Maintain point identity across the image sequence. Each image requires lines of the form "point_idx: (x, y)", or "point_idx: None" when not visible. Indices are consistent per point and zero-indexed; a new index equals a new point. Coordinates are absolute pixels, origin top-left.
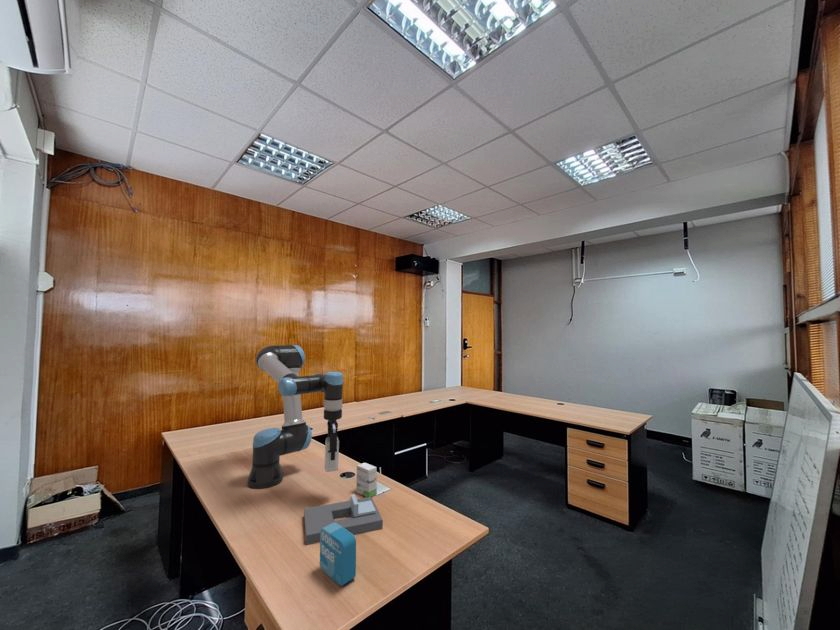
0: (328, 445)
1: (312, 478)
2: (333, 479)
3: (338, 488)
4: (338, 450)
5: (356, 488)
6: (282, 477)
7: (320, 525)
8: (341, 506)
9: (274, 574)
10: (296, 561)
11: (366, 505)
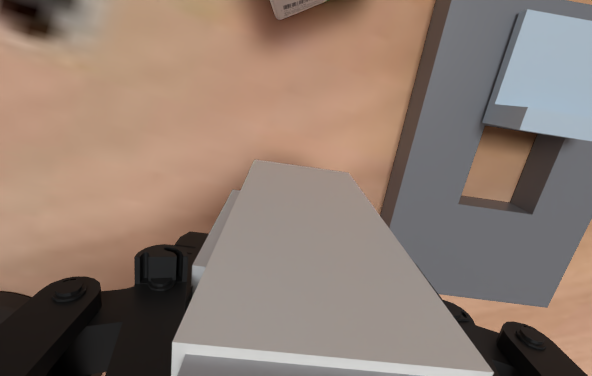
0: None
1: (35, 181)
2: (77, 88)
3: (195, 94)
4: (405, 254)
5: (278, 15)
6: (13, 303)
7: (525, 260)
8: (449, 157)
9: (581, 361)
10: (575, 318)
11: (555, 54)
